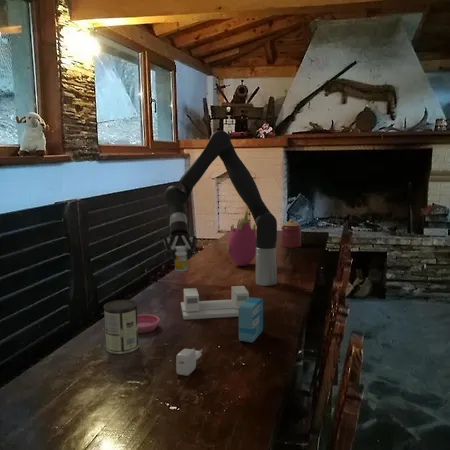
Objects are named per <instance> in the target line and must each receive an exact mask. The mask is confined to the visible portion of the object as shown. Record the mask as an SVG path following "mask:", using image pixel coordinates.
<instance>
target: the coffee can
mask: <svg viewBox="0 0 450 450" xmlns="http://www.w3.org/2000/svg"><path fill="white" fill-rule="evenodd" d="M103 310H104V313H103V314H104V327H105V329H104V332H105V349H106V352H108V353H110V354H114V355H115V354H116V355H118V354H119V355H120V354H121V355H122V354H128V353H132V352H134V351H136V350H137V349H138V348H139V346H140V345H139V333H138V319H137V315H138V302H137V301H135V300H132V299H117V300H112V301H109V302H106V303H105V304H104V305H103Z"/></svg>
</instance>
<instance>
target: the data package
mask: <svg viewBox="0 0 450 450" xmlns="http://www.w3.org/2000/svg"><path fill="white" fill-rule="evenodd" d="M263 329H264V300H263V298H259V297H250V296H249V299H247V300H246V301H245V302H244V303H243V304H241V305H240V307H239V316H238V339H239V341H240V342H246V343H251V344H252V343H253V342H255V341H256V340H257V339H258V337H259V336H260V335H261V334H262V332H263Z"/></svg>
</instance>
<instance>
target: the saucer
mask: <svg viewBox="0 0 450 450" xmlns="http://www.w3.org/2000/svg"><path fill="white" fill-rule="evenodd" d="M137 319H138V334H146V333H151V332H152V331H155V329H156V328H157V327H158V326H159V325H160V322H161V319H160V318H159V317H158V315H154V314H150V313H149V314H147V313H146V314H145V313H144V314H137Z"/></svg>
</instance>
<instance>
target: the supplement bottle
mask: <svg viewBox="0 0 450 450" xmlns="http://www.w3.org/2000/svg"><path fill="white" fill-rule="evenodd" d="M174 252H175V260H174V270H175V271H178V272H184V271H187V270H188V269H189V263H188V261H189V259H188V257H187V250H186V247H185V246H176V248H175V251H174Z"/></svg>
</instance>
